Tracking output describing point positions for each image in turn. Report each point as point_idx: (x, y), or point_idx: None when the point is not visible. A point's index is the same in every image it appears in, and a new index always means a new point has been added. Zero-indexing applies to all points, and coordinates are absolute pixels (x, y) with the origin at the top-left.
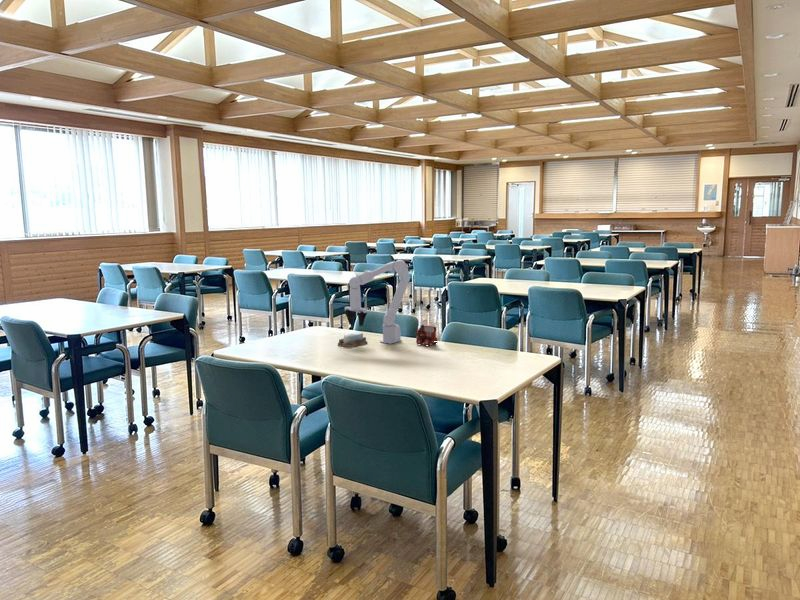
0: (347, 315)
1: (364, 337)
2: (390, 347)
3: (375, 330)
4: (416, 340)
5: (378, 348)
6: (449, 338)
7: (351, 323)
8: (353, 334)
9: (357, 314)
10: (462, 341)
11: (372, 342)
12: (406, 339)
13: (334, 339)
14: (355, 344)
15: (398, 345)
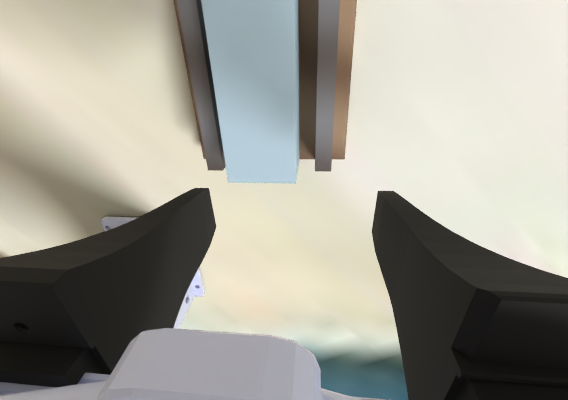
0: (453, 255)
1: (214, 162)
2: (24, 154)
3: None
4: None
5: (31, 84)
6: None
7: (375, 219)
8: (253, 89)
9: (81, 264)
10: None
11: (214, 195)
12: None
13: (540, 113)
14: (175, 8)
15: (52, 214)
